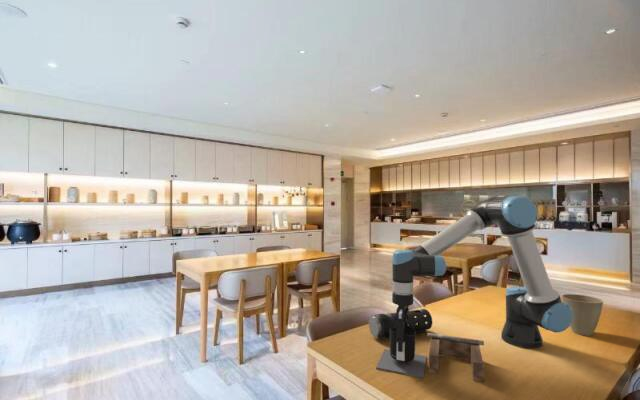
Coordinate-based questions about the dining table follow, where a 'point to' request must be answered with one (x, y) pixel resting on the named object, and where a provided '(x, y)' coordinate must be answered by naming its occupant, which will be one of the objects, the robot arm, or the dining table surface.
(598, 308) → the plant pot
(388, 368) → the mat
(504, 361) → the dining table surface
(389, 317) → the muzzle brake
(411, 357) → the pen holder
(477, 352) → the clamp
